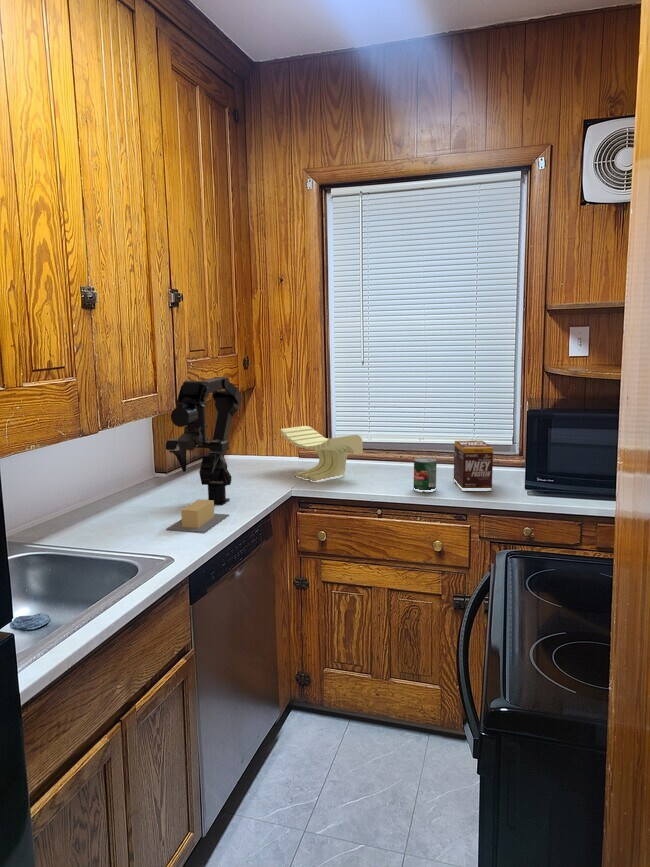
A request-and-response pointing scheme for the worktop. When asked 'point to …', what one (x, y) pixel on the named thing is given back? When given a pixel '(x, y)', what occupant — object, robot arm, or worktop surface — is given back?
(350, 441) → the slatted curved stool
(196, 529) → the slate mat
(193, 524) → the ochre block
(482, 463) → the supplement box
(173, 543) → the worktop surface
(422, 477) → the canned tomato
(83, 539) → the worktop surface
